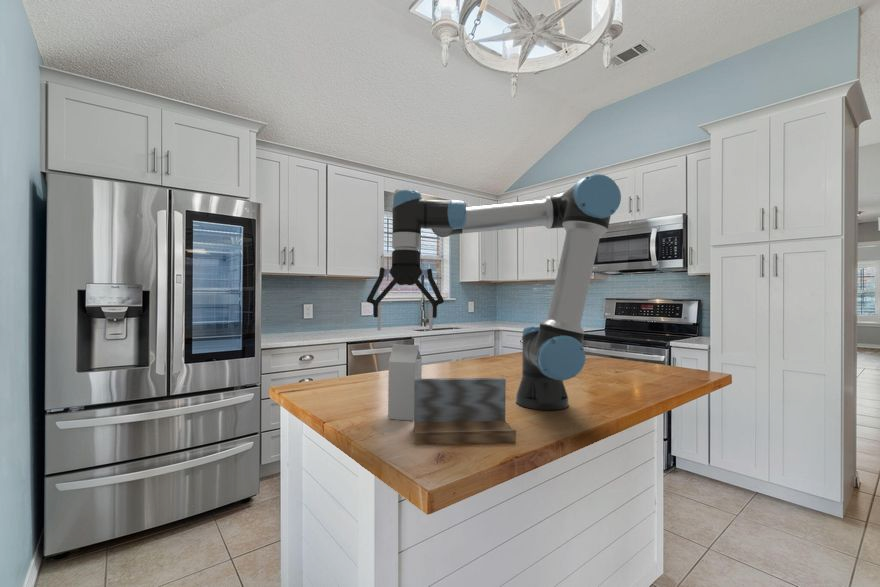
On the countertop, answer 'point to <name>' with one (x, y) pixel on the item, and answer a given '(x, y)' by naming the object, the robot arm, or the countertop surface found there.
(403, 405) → the milk carton
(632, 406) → the countertop surface
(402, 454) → the countertop surface
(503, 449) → the countertop surface
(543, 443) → the countertop surface
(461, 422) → the wall board
